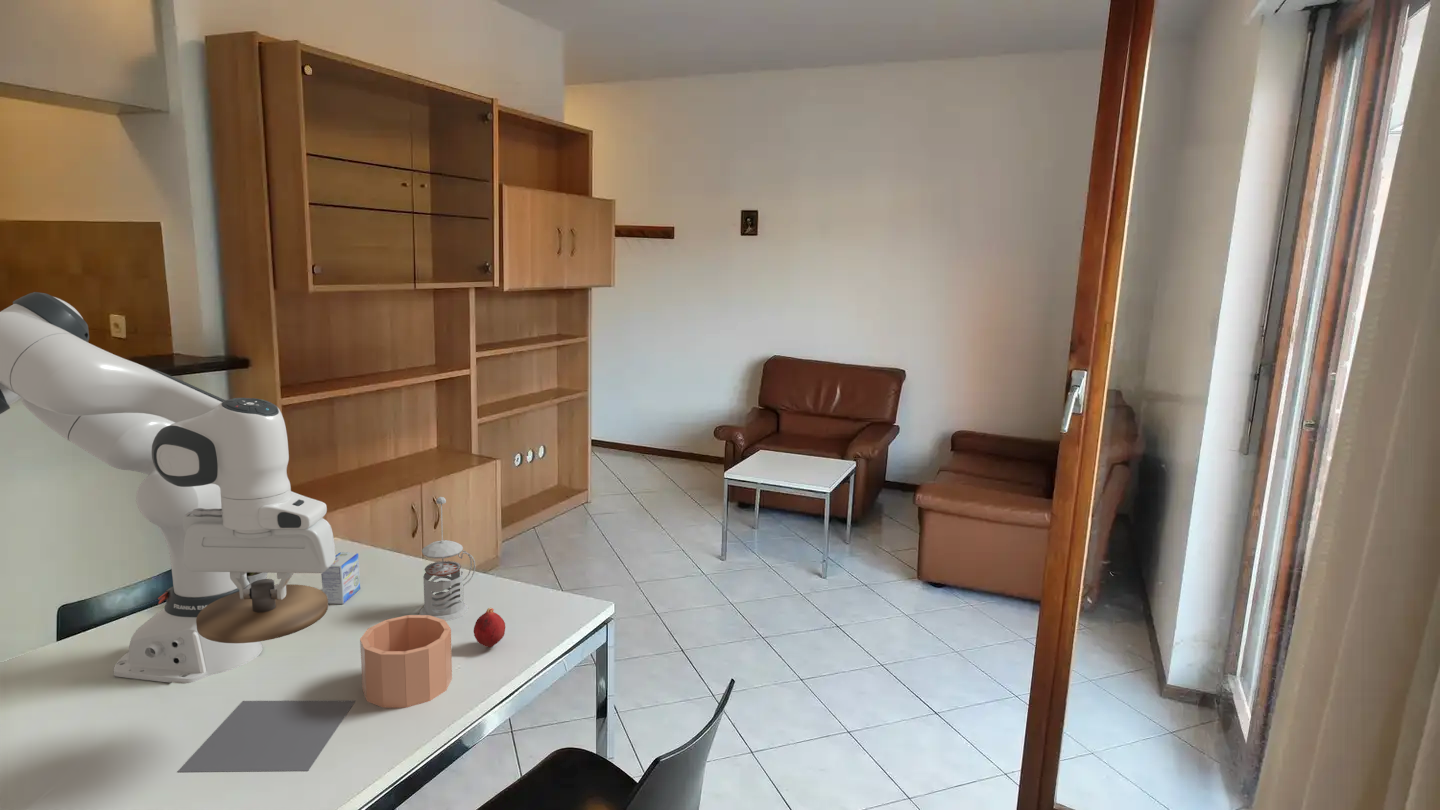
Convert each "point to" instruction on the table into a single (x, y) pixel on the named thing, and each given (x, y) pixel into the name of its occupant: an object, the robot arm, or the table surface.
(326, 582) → the medicine box
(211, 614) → the lid
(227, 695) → the table surface
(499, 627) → the red pomegranate
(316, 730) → the mat
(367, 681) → the flower pot
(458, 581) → the french press
